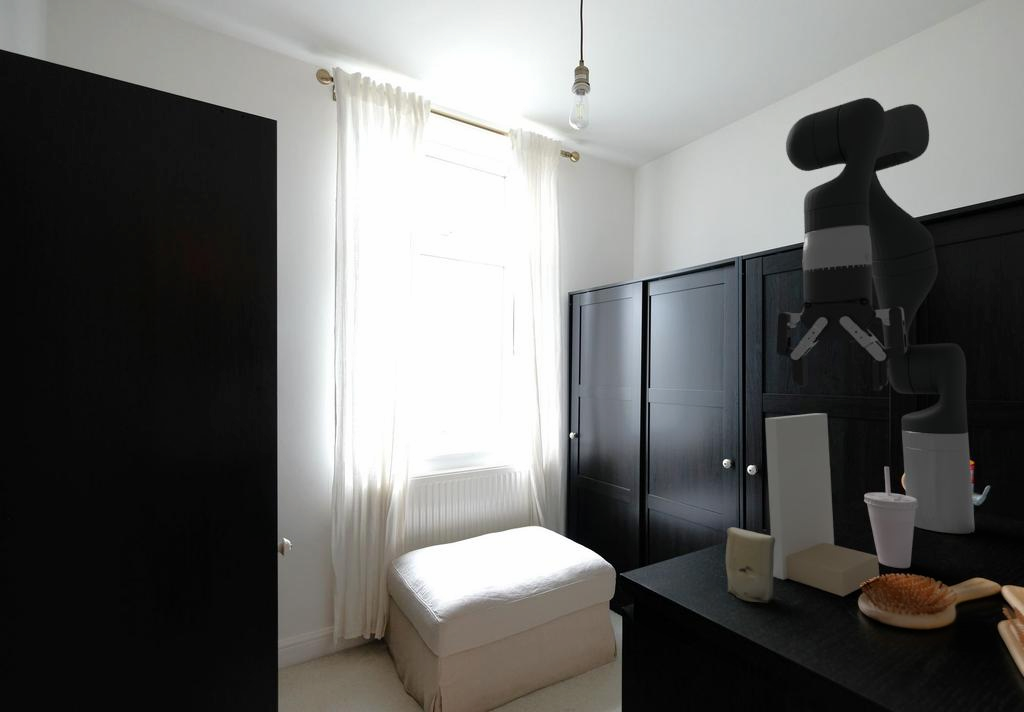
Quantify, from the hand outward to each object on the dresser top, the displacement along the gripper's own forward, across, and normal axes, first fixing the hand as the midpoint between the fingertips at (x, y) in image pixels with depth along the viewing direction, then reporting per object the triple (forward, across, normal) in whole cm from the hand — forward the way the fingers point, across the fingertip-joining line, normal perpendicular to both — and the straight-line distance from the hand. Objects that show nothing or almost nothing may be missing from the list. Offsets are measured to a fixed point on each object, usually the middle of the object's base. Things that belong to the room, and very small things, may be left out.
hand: (838, 387), depth 66 cm
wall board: (+27, +1, 0) cm, 27 cm away
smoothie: (+28, -4, -11) cm, 30 cm away
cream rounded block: (+25, +7, +14) cm, 30 cm away
